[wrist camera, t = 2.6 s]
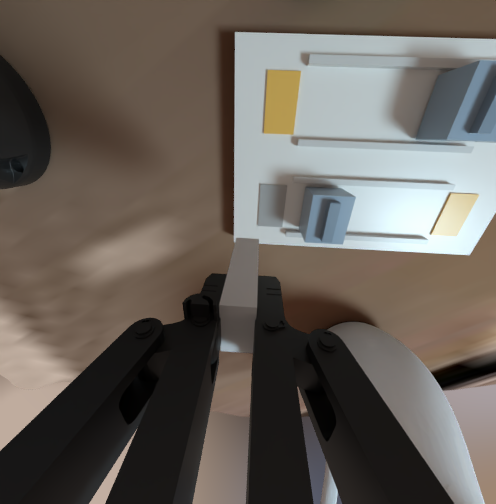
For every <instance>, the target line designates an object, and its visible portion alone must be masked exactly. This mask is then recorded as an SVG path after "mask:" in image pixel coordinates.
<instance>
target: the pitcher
mask: <svg viewBox="0 0 496 504" xmlns="http://www.w3.org/2000/svg"><path fill="white" fill-rule="evenodd" d="M328 331H331V332H333V333H335V334H336V335H338V336H339V337H340V338H341V339H342V340H343V342H344V343H345V344H346V346H347V347H348V349H349V350H350V352H351V353H352V355H353V356H354V358H355V359H356V361H357V362H358V363H359V365H360V366H361V368H362V369H363V371H364V372H365V374H366V375H367V377H368V378H369V380H370V381H371V382H372V384H373V385H374V387H375V388H376V390H377V391H378V393H379V394H380V396H381V397H382V399H383V400H384V401H385V403H386V404H387V406H388V407H389V409H390V410H391V412H392V413H393V415H394V416H395V418H396V419H397V420H398V422H399V423H400V425H401V426H402V428H403V429H404V431H405V432H406V434H407V435H408V436H409V438H410V439H411V441H412V442H413V444H414V445H415V447H416V448H417V450H418V451H419V453H420V454H421V455H422V457H423V458H424V460H425V461H426V463H427V464H428V466H429V467H430V469H431V470H432V472H433V473H434V474H435V476H436V477H437V479H438V480H439V482H440V483H441V485H442V486H443V488H444V489H445V491H446V492H447V493H448V495H449V496H450V498H451V499H452V501H453V502H454V504H485V502H484V499H483V497H482V493H481V490H480V487H479V484H478V481H477V478H476V475H475V472H474V468H473V465H472V462H471V458H470V455H469V452H468V449H467V446H466V443H465V440H464V437H463V435H462V432H461V429H460V427H459V424H458V422H457V419H456V417H455V414H454V412H453V410H452V408H451V406H450V404H449V402H448V400H447V398H446V396H445V394H444V392H443V391H442V389H441V387H440V386H439V384H438V383H437V381H436V380H435V378H434V377H433V375H432V374H431V373H430V371H429V370H428V369H427V367H426V366H425V365H424V364H423V363H422V361H421V360H420V359H419V358H418V357H417V356H416V355H415V354H414V353H413V352H412V351H411V350H410V349H409V348H408V347H406V346H405V345H404V344H403V343H401V342H400V341H399V340H397V339H396V338H394V337H393V336H391V335H390V334H388V333H386V332H385V331H383V330H381V329H379V328H377V327H374V326H372V325H369V324H366V323H362V322H346V323H341V324H338V325H335V326H333V327H331V328H329V329H328ZM337 492H338V490H337V488H336V485H335V482H334V480H333V477H332V475H331V472H330V469H329V467H328V464H327V461H326V468H325V476H324V484H323V490H322V497H321V503H320V504H336V502H337Z"/></svg>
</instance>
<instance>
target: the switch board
mask: <svg viewBox="0 0 496 504" xmlns="http://www.w3.org/2000/svg"><path fill="white" fill-rule="evenodd" d="M479 60H492V61H496V39H471V38H435V37H398V36H362V35H326V34H289V33H253V32H235V128H234V242H236V238H252V239H259V244H276V245H294V246H313V247H331V248H349V249H368V250H386V251H404V252H423V253H441V254H459V255H470V254H471V252H472V250H473V249H474V247H475V245H476V244H477V242H478V241H479V239H480V237H481V236H482V234H483V232H484V231H485V229H486V227H487V226H488V224H489V222H490V221H491V219H492V218H493V216H494V214H495V213H496V142H485V141H439V140H415V139H416V136H417V133H418V130H419V127H420V125H421V122H422V119H423V116H424V114H425V111H426V108H427V105H428V103H429V100H430V97H431V94H432V92H433V89H434V86H435V83H436V81H437V78H438V75H440V74H443V73H446V72H449V71H451V70H454V69H457V68H460V67H463V66H465V65H468V64H471V63H474V62H476V61H479ZM305 187H325V188H342V189H344V190H345V191H347V192H349V193H350V194H352V195H354V196H355V197H356V199H355V202H354V206H353V210H352V213H351V217H350V220H349V224H348V228H347V231H346V235H345V238H344V242H343V244H324V243H306V242H304V240H303V237H302V235H301V233H300V230H299V223H300V217H301V211H302V204H303V198H304V192H305Z"/></svg>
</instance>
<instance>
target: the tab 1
mask: <svg viewBox="0 0 496 504" xmlns="http://www.w3.org/2000/svg"><path fill="white" fill-rule="evenodd" d="M355 199H356V197H355V196H354V195H352V194H350V193H349V192H347V191H345V190H344V189H342V188H325V187H305V192H304V198H303V204H302V211H301V217H300V223H299V230H300V233H301V235H302V237H303V240H304V242H306V243H324V244H343V242H344V238H345V235H346V231H347V228H348V224H349V220H350V217H351V213H352V210H353V206H354V202H355Z"/></svg>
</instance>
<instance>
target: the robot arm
mask: <svg viewBox="0 0 496 504" xmlns="http://www.w3.org/2000/svg"><path fill="white" fill-rule="evenodd" d="M50 149H51V147H50V137H49V132H48V128H47V124H46V121H45V118H44V116H43V113H42V111H41V109H40V107H39V105H38V103H37V101H36V99H35V97H34V96H33V94H32V92H31V91H30V89H29V88H28V86H27V85H26V83H25V82H24V81H23V79H22V78H21V77H20V76H19V74H18V73H17V72H16V71H15V70H14V69H13V68H12V66H11V65H10V64H9V63H8V62H7V61H6V60H5V59H4V58H3V57H1V56H0V189H7V188H13V187H18V186H23V185H27V184H30V183H33V182H34V181H36V180H37V179H39V178H40V177H41V176H42V175H43V173H44V172H45V170H46V168H47V166H48V163H49V159H50ZM258 256H259V239H252V238H236V242H235V246H234V250H233V253H232V257H231V261H230V265H229V269H228V273H227V274H213V273H212V274H211V275H210V276H209V277H207V278H206V280H205V283H204V286H203V288H202V291H201V293H199V294H194V295H191V296H189V297H188V298H186V299H185V300H184V302H183V311H184V318H185V319H184V320H182V321H180V322H177V323H173V324H167V325H163V324H162V323H161V321H160V320H158V319H156V318H145V319H142V320H139V321H137V322H135V323H134V324H132V325H131V326H130V327H129V328H128V329H127V330H126V331H125V332H123V333H122V334H121V335H120V336H119V337H118V338H117V339H116V340H115V341H114V342H113V343H112V344H111V345H110V346H109V347H108V348H107V349H106V350H105V351H104V352H103V353H102V354H101V355H100V356H99V357H97V358H96V359H95V360H94V361H93V362H92V363H91V364H90V365H89V366H88V367H87V368H86V369H85V370H84V371H83V372H82V373H81V374H80V375H79V376H78V377H77V378H76V379H75V380H74V381H73V382H72V383H70V384H69V386H67V387H66V388H65V389H64V390H63V391H62V392H61V393H60V394H59V395H58V396H57V397H56V398H55V399H54V400H53V401H52V402H51V403H50V404H49V405H48V406H47V407H46V408H45V409H43V411H41V412H40V413H39V414H38V415H37V416H36V417H35V418H34V419H33V420H32V421H31V422H30V423H29V424H28V425H27V426H26V427H25V428H24V429H23V430H22V431H21V432H20V433H19V434H18V435H16V437H14V438H13V439H12V440H11V441H10V442H9V443H8V444H7V445H6V446H5V447H4V448H3V449H2V450H1V451H0V504H89V502H90V501H91V499H92V498H93V496H94V495H95V493H96V492H97V490H98V489H99V487H100V485H101V484H102V482H103V481H104V479H105V478H106V476H107V474H108V473H109V471H110V470H111V468H112V467H113V465H114V464H115V462H116V460H117V459H118V457H119V456H120V454H121V453H122V451H123V450H124V448H125V446H126V445H127V443H128V442H129V440H130V439H131V437H132V436H133V434H134V432H135V431H136V429H137V428H138V429H137V431H136V433H135V436H134V438H133V440H132V443H131V445H130V447H129V449H128V452H127V454H126V456H125V459H124V461H123V463H122V466H121V468H120V470H119V473H118V475H117V478H116V480H115V482H114V484H113V487H112V489H111V491H110V494H109V496H108V499H107V501H106V503H105V504H192V502H193V497H194V492H195V485H196V481H197V476H198V470H199V465H200V460H201V455H202V449H203V444H204V438H205V434H206V428H207V423H208V417H209V413H210V407H211V402H212V397H213V391H214V386H215V381H216V376H217V370H218V365H219V351H220V346H221V351H228V352H241V353H253V362H252V375H251V376H252V381H251V403H250V426H249V449H248V470H247V471H248V472H247V492H246V504H313V497H312V489H311V482H310V475H309V468H308V461H307V454H306V447H305V440H304V433H303V426H302V419H301V411H300V404H299V397H298V390H297V386H298V387H299V390H300V393H301V395H302V398H303V400H304V403H305V406H306V408H307V411H308V414H309V416H310V419H311V422H312V424H313V427H314V430H315V432H316V435H317V437H318V440H319V443H320V445H321V448H322V451H323V453H324V456H325V459H326V461H327V464H328V467H329V469H330V472H331V475H332V477H333V480H334V482H335V485H336V488H337V490H338V493H339V496H340V498H341V501H342V504H454V502H453V501H452V499H451V498H450V496H449V495H448V493H447V492H446V491H445V489H444V488H443V486H442V485H441V483H440V482H439V480H438V479H437V477H436V476H435V474H434V473H433V472H432V470H431V469H430V467H429V466H428V464H427V463H426V461H425V460H424V458H423V457H422V455H421V454H420V453H419V451H418V450H417V448H416V447H415V445H414V444H413V442H412V441H411V439H410V438H409V436H408V435H407V434H406V432H405V431H404V429H403V428H402V426H401V425H400V423H399V422H398V420H397V419H396V418H395V416H394V415H393V413H392V412H391V410H390V409H389V407H388V406H387V404H386V403H385V401H384V400H383V399H382V397H381V396H380V394H379V393H378V391H377V390H376V388H375V387H374V385H373V384H372V382H371V381H370V380H369V378H368V377H367V375H366V374H365V372H364V371H363V369H362V368H361V366H360V365H359V363H358V362H357V361H356V359H355V358H354V356H353V355H352V353H351V352H350V350H349V349H348V347H347V346H346V344H345V343H344V342H343V340H342V339H341V338H340V337H339V336H338V335H336V334H335V333H333V332H331V331H328V330H325V329H317V330H314V331H312V332H311V333H310V334H306V333H303V332H301V331H298V330H296V329H294V328H293V327H291V326H290V325H289V324H288V323H287V321H286V320H285V317H284V310H283V302H282V296H281V295H282V294H281V286H280V282H279V281H278V279H277V278H276V277H271V276H258Z"/></svg>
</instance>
